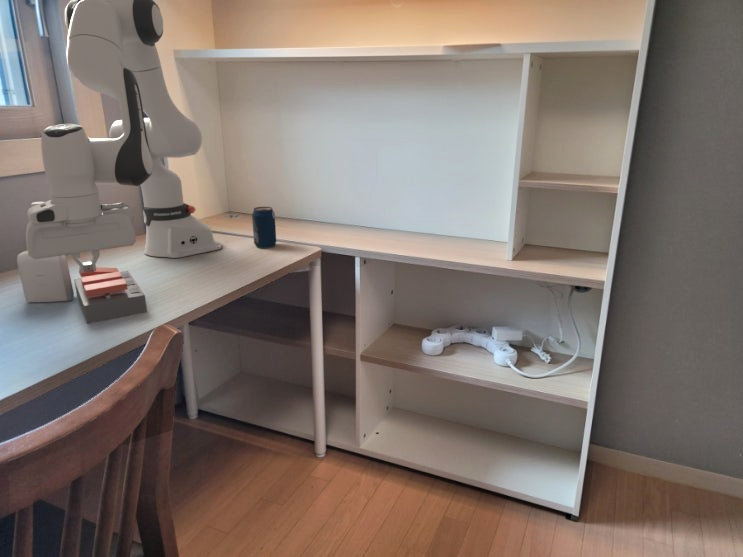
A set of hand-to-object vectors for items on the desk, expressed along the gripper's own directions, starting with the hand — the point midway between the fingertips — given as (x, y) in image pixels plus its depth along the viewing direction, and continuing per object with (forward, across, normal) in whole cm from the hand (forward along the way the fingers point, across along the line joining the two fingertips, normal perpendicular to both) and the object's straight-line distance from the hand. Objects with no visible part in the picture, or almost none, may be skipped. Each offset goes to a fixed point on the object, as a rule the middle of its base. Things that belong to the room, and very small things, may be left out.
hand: (88, 271), depth 116 cm
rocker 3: (+5, -3, 0) cm, 6 cm away
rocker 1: (+6, -3, -12) cm, 13 cm away
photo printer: (+10, +8, -15) cm, 20 cm away
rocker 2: (+6, -3, -6) cm, 8 cm away
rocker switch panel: (+10, -4, -6) cm, 12 cm away
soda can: (+11, -53, -32) cm, 63 cm away
